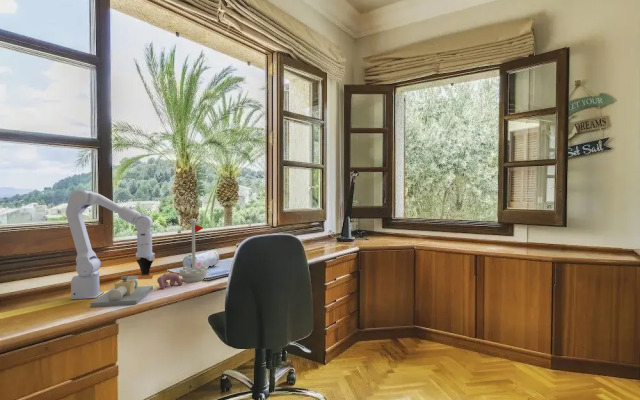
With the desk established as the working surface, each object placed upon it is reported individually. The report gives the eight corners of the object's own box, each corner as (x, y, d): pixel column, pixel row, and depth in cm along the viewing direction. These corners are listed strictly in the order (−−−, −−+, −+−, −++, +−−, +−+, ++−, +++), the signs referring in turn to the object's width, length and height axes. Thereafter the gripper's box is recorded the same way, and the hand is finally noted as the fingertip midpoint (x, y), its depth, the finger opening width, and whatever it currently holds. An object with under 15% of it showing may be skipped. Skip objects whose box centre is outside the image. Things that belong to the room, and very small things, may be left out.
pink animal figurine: (179, 287, 167) (175, 273, 169) (183, 284, 164) (179, 269, 166) (158, 291, 159) (154, 276, 161) (162, 288, 156) (158, 273, 158)
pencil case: (192, 273, 189) (191, 255, 188) (180, 271, 193) (180, 254, 193) (220, 266, 207) (220, 250, 207) (209, 264, 211) (209, 249, 211)
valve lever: (120, 280, 145) (120, 276, 145) (122, 279, 147) (122, 275, 147) (151, 278, 147) (151, 275, 147) (152, 277, 149) (152, 273, 149)
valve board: (90, 307, 133) (90, 288, 133) (113, 291, 155) (113, 275, 155) (136, 304, 136) (136, 286, 136) (152, 289, 158) (152, 273, 157)
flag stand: (185, 283, 167) (184, 219, 166) (176, 278, 177) (175, 218, 177) (212, 279, 175) (211, 218, 175) (202, 274, 185) (201, 217, 185)
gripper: (161, 244, 150) (162, 276, 150) (147, 241, 160) (147, 271, 160) (144, 246, 145) (145, 279, 145) (130, 243, 155) (131, 274, 155)
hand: (145, 275), depth 152 cm, fingers closed
